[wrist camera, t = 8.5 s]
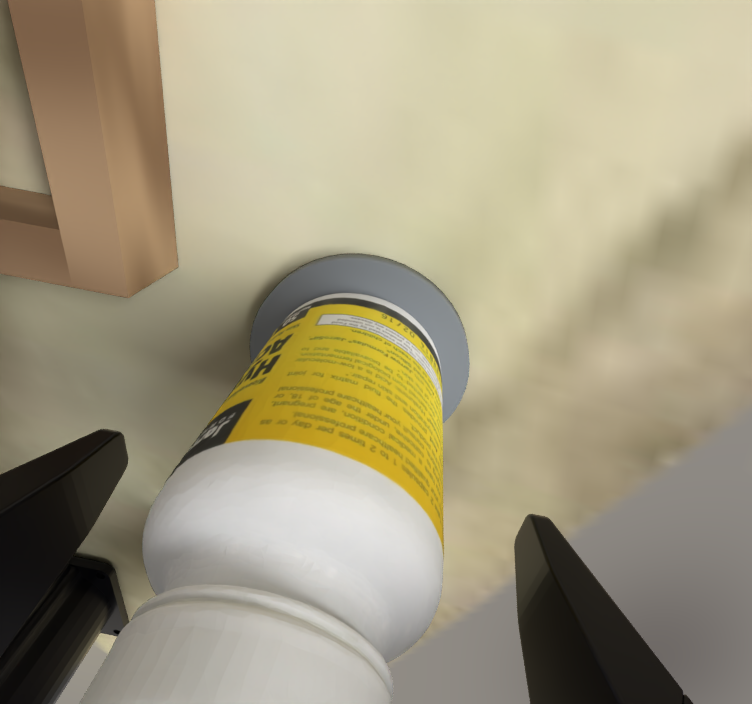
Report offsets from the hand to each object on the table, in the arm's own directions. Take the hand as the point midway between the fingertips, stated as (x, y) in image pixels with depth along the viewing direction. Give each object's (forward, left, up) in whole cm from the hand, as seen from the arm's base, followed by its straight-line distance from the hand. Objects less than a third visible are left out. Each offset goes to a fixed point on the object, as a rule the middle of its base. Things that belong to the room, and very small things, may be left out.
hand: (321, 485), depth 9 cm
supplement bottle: (0, 0, -5) cm, 5 cm away
